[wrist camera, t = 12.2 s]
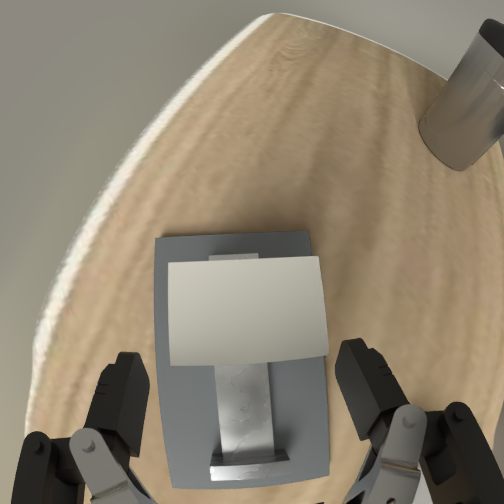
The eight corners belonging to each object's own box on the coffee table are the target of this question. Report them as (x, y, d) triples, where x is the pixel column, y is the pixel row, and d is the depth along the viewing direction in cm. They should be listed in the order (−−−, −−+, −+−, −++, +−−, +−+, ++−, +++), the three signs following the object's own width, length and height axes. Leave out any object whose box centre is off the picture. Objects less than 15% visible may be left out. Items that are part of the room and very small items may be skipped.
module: (280, 293, 20) (317, 251, 11) (285, 351, 19) (329, 354, 10) (197, 297, 20) (168, 257, 11) (199, 356, 18) (170, 365, 9)
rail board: (305, 235, 23) (308, 230, 22) (325, 470, 16) (329, 475, 16) (158, 242, 22) (155, 237, 21) (174, 482, 15) (172, 487, 14)
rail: (268, 256, 21) (272, 245, 19) (285, 463, 16) (291, 476, 14) (198, 260, 21) (194, 249, 18) (213, 469, 15) (211, 482, 13)
